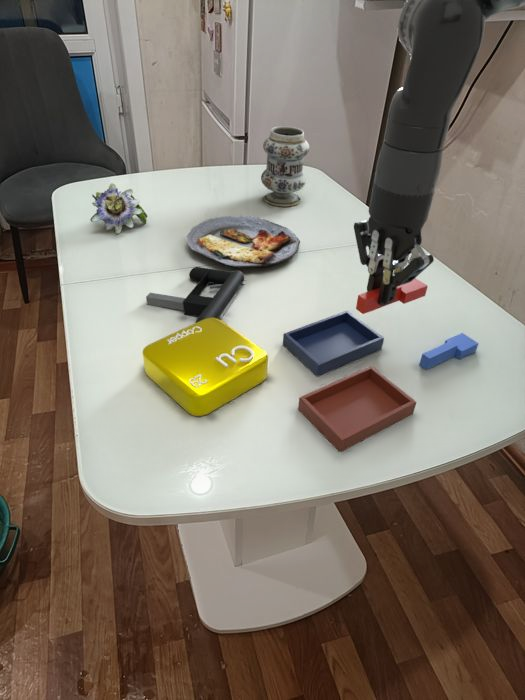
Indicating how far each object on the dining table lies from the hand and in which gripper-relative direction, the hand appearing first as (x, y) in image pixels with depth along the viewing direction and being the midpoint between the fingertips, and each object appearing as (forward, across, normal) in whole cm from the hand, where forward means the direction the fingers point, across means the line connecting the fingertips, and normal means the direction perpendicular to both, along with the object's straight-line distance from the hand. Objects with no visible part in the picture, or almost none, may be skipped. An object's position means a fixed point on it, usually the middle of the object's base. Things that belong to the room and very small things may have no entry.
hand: (378, 299), depth 74 cm
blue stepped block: (+14, -4, -16) cm, 21 cm away
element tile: (+15, +13, +22) cm, 29 cm away
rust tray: (+14, -6, +6) cm, 17 cm away
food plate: (+15, +47, -6) cm, 50 cm away
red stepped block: (+1, 0, -2) cm, 2 cm away
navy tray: (+14, +8, 0) cm, 17 cm away
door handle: (+15, +32, +14) cm, 38 cm away
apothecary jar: (+15, +67, -29) cm, 74 cm away
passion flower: (+15, +71, +15) cm, 74 cm away
